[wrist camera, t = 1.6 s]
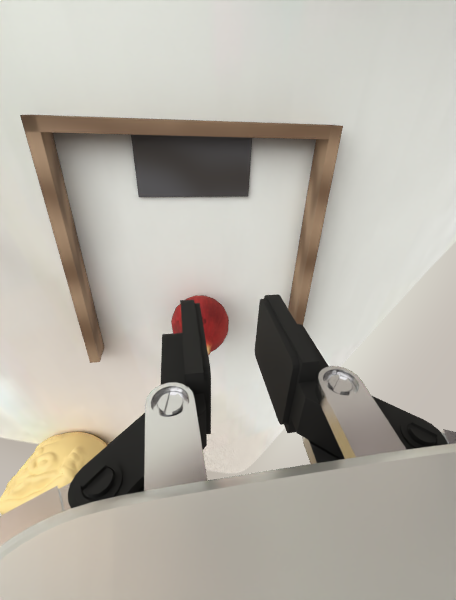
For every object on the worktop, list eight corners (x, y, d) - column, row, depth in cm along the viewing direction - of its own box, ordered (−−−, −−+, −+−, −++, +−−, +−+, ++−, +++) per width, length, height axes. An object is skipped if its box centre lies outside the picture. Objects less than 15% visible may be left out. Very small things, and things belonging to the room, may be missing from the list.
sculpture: (82, 408, 40) (56, 495, 31) (134, 450, 46) (126, 532, 37) (10, 441, 41) (-36, 535, 32) (71, 478, 47) (48, 564, 38)
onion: (165, 318, 34) (164, 368, 28) (181, 276, 32) (184, 319, 25) (212, 329, 36) (221, 379, 30) (230, 290, 34) (245, 334, 27)
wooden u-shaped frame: (33, 114, 23) (20, 115, 21) (329, 124, 26) (342, 125, 24) (94, 347, 35) (90, 362, 33) (291, 331, 39) (298, 344, 36)
